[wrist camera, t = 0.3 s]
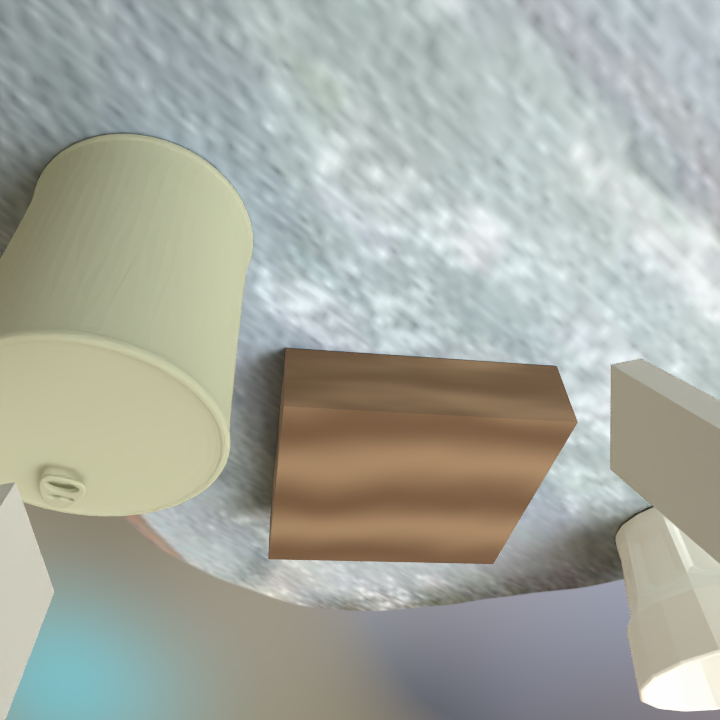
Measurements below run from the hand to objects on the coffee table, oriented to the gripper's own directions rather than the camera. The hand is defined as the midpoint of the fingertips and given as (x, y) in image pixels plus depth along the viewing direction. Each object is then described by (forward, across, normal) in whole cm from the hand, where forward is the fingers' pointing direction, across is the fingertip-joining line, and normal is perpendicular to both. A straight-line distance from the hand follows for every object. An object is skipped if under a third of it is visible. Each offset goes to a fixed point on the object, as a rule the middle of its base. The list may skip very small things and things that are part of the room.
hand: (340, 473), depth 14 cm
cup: (+25, +27, -25) cm, 44 cm away
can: (+18, -5, +4) cm, 19 cm away
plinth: (+23, +6, -12) cm, 26 cm away
